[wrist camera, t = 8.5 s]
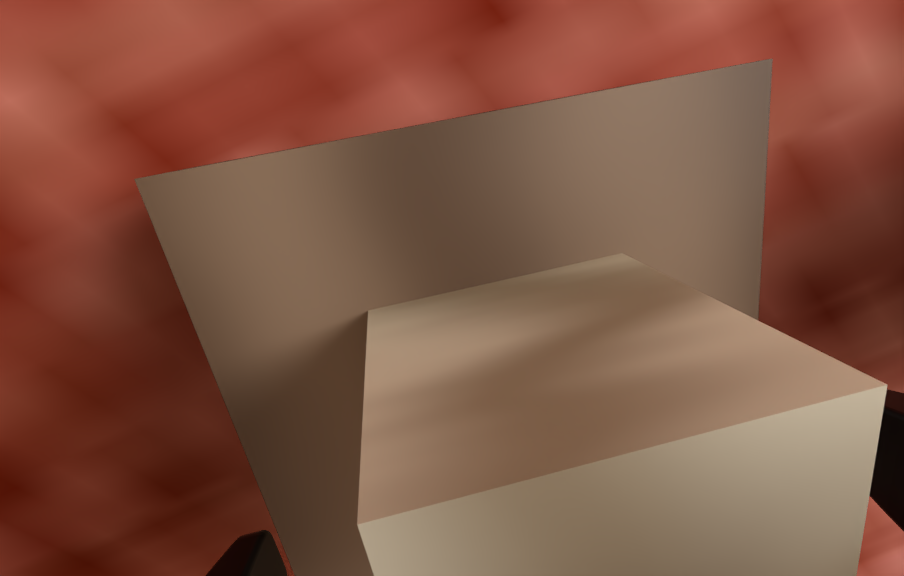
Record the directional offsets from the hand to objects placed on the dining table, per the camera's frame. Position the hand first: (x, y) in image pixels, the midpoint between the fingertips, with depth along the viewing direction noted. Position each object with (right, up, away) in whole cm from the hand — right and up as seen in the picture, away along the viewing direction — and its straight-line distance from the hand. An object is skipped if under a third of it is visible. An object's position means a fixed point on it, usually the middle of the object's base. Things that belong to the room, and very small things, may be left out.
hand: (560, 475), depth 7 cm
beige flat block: (-1, +2, +6) cm, 6 cm away
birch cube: (0, +1, +2) cm, 2 cm away
